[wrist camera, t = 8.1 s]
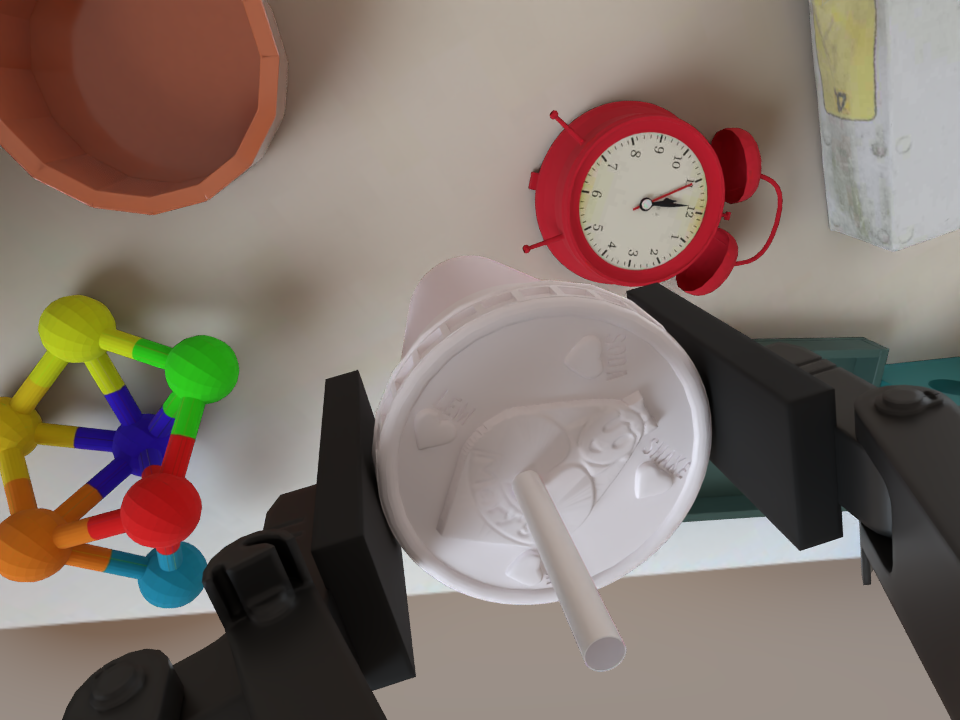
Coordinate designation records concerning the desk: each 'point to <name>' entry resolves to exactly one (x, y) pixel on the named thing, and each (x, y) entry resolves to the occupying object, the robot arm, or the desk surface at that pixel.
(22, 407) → the molecular model
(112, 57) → the pot
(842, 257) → the desk surface
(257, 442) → the desk surface
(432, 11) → the desk surface
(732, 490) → the tray
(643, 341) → the smoothie
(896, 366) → the bracket
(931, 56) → the white coffee bag
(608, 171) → the alarm clock
